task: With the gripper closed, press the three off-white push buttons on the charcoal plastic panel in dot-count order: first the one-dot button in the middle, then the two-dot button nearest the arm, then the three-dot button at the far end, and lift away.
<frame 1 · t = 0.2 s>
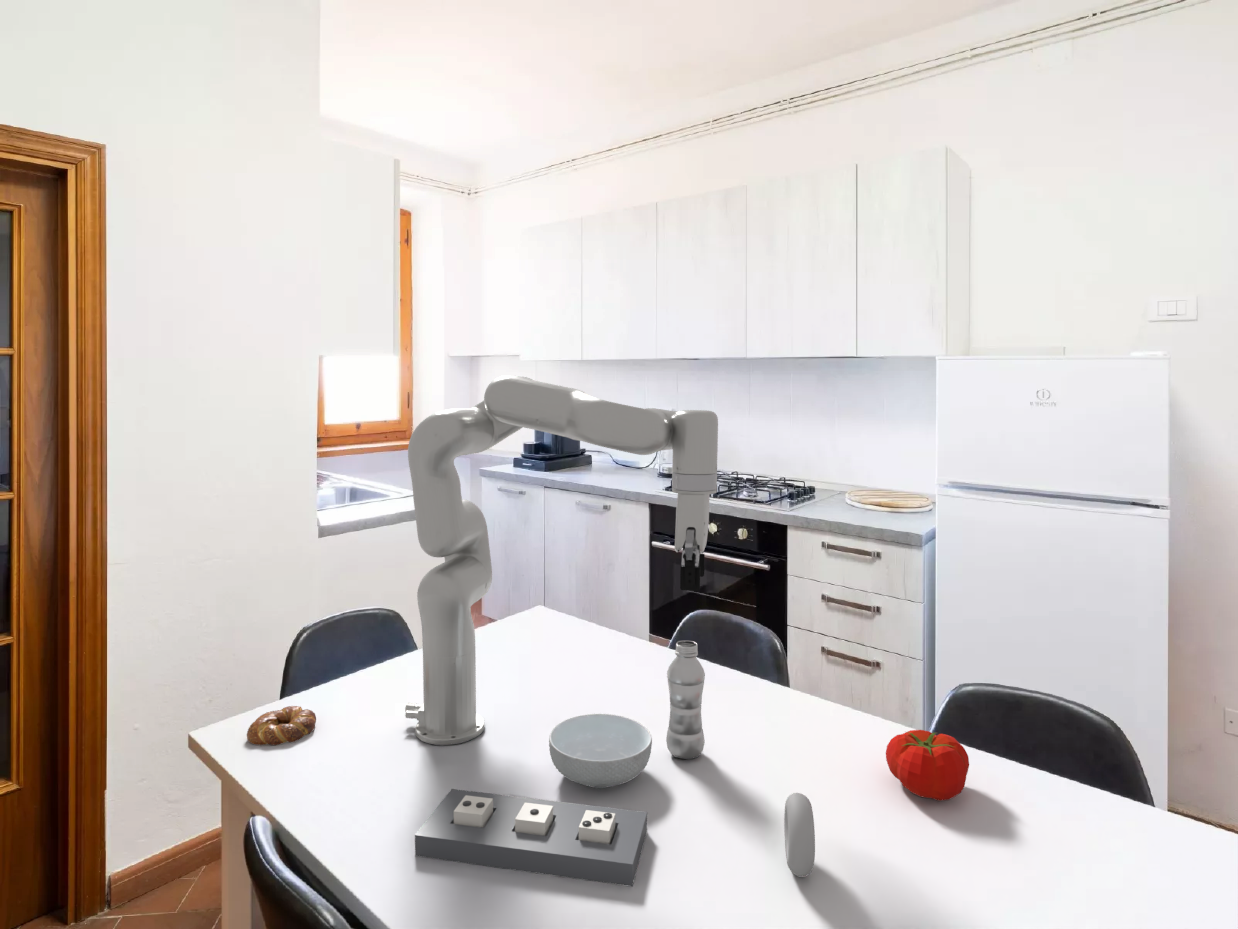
hand: (692, 582, 124), 31 cm above the table, tool pointing down, fingers open, 9 cm apart
cereal bowl: (600, 777, 121), on the table
button two dots: (473, 812, 103), point 3 cm above the table, slide at 0.0 cm
button one dot: (534, 820, 102), point 3 cm above the table, slide at 0.0 cm
button three dots: (597, 827, 100), point 3 cm above the table, slide at 0.0 cm
tomato: (924, 790, 118), on the table
plastic bottle: (684, 755, 128), on the table
button panel: (534, 843, 102), on the table
donut: (797, 870, 97), on the table
pretzel: (282, 735, 135), on the table
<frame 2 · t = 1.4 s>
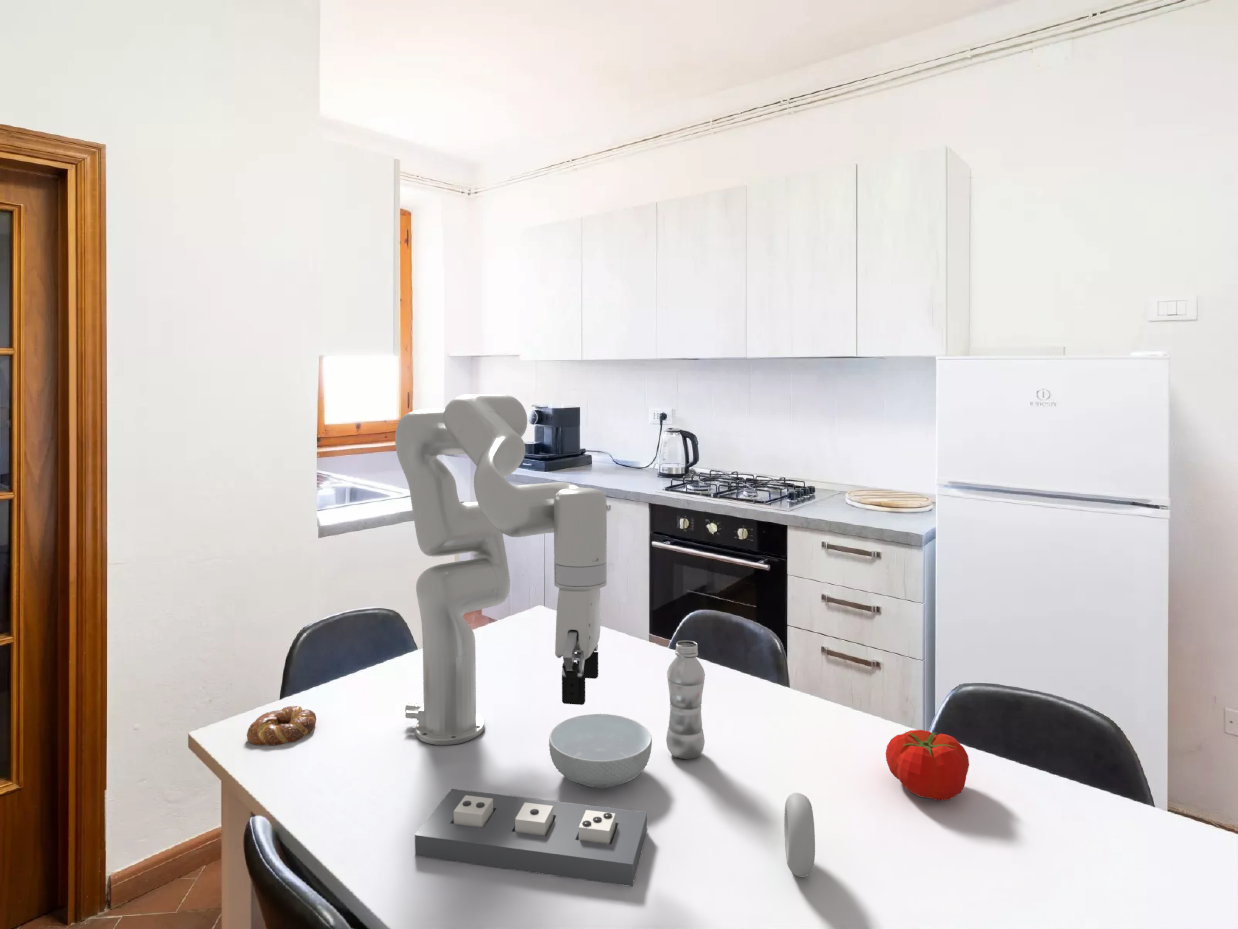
hand: (580, 689, 106), 20 cm above the table, tool pointing down, fingers open, 9 cm apart
nothing on the table moved.
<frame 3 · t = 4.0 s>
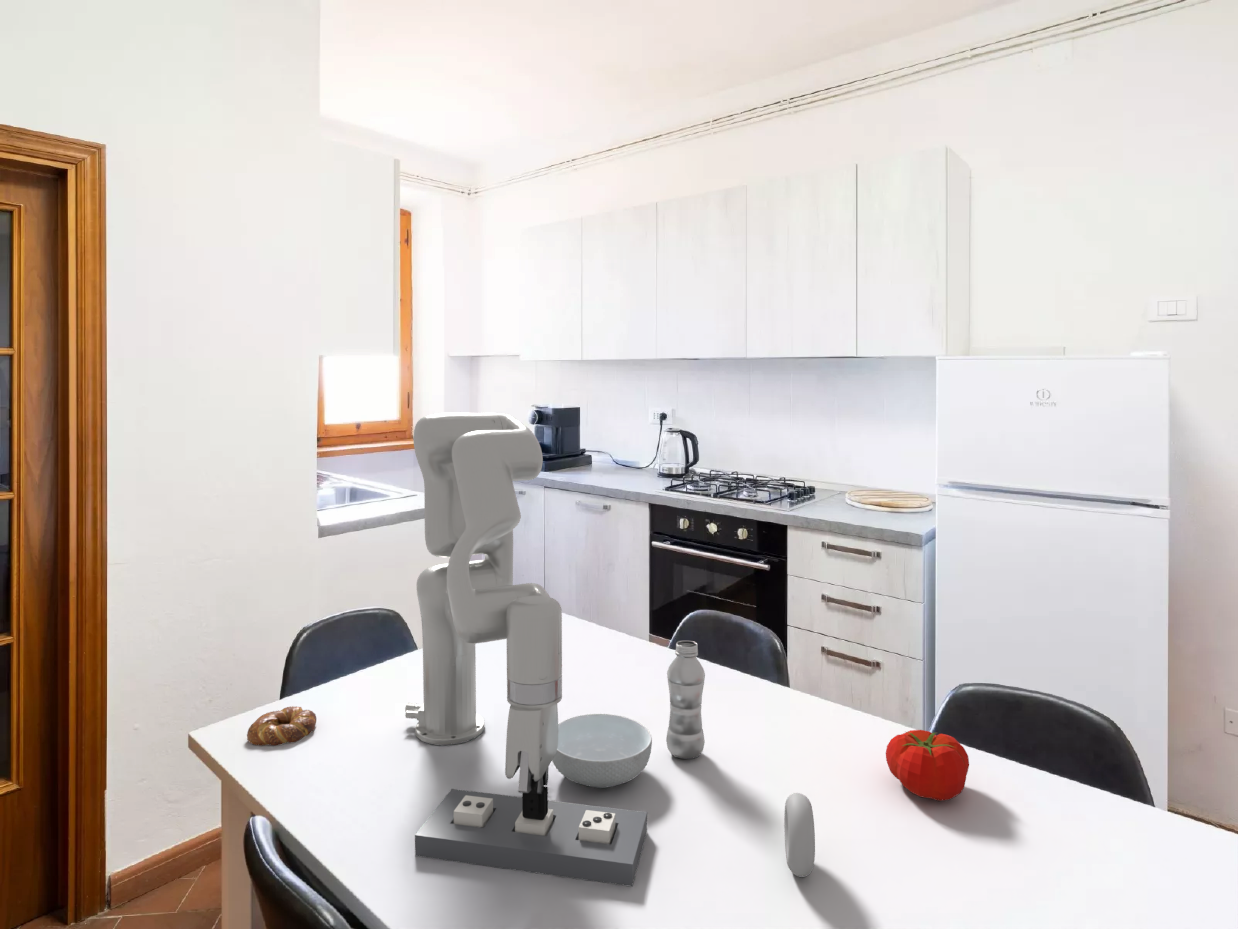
hand: (535, 815, 101), 4 cm above the table, tool pointing down, fingers closed
button one dot: (534, 823, 102), point 3 cm above the table, slide at 0.5 cm, touching gripper
everything else where it was.
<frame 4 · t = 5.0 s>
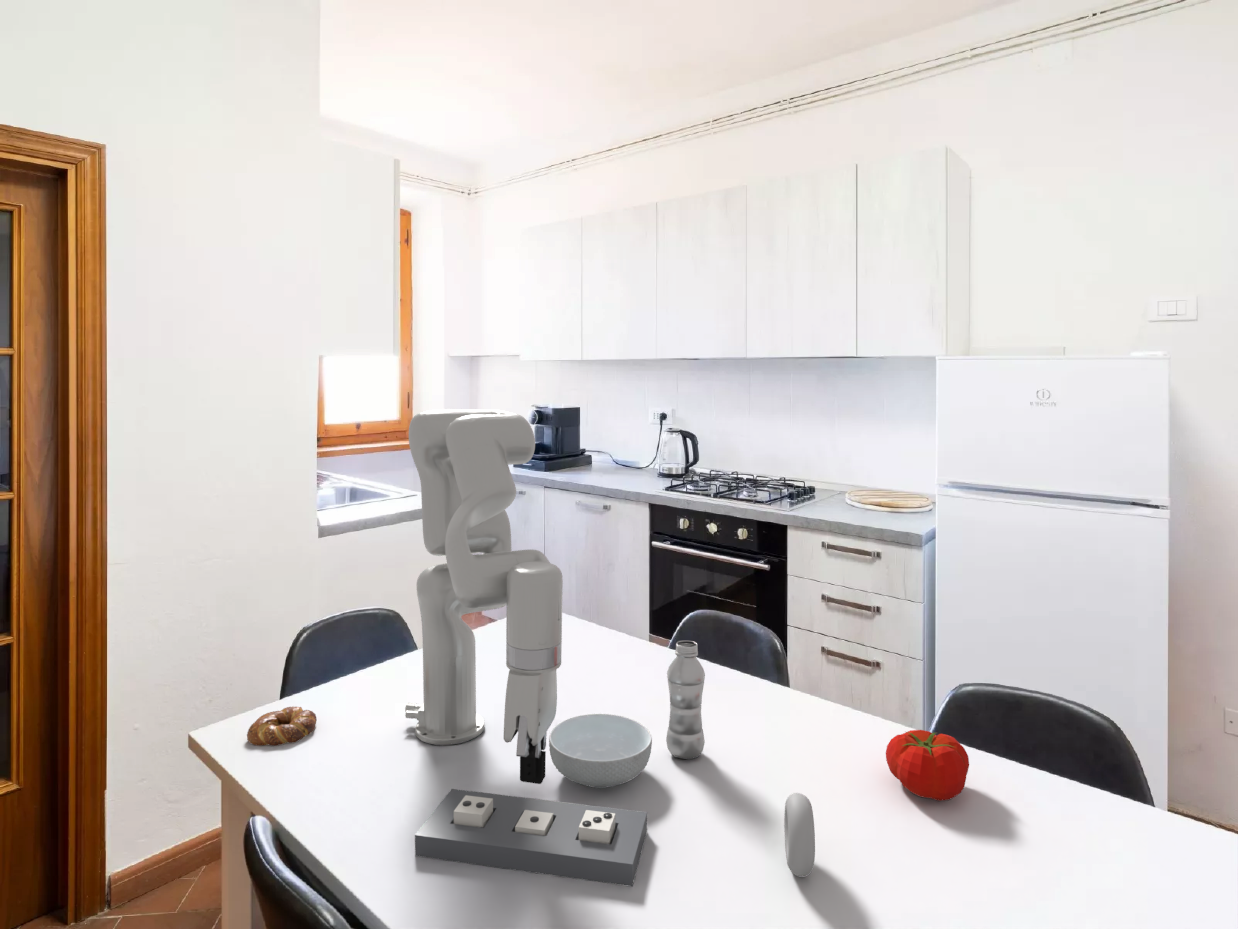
hand: (532, 779, 102), 9 cm above the table, tool pointing down, fingers closed
button one dot: (534, 827, 102), point 2 cm above the table, slide at 1.1 cm
everything else where it was.
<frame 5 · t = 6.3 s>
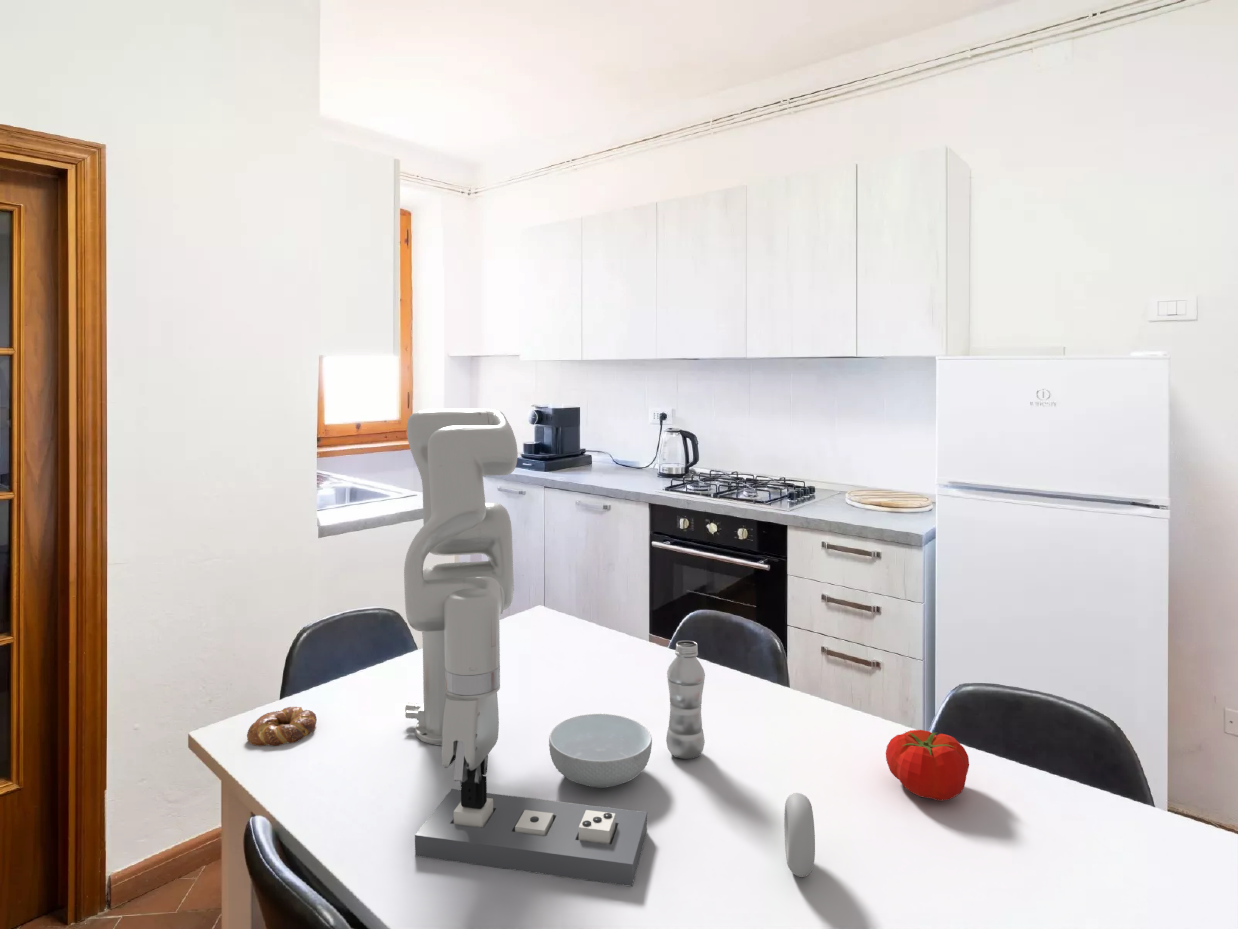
hand: (473, 804, 103), 5 cm above the table, tool pointing down, fingers closed
button two dots: (473, 812, 103), point 3 cm above the table, slide at 0.0 cm, touching gripper
everything else where it was.
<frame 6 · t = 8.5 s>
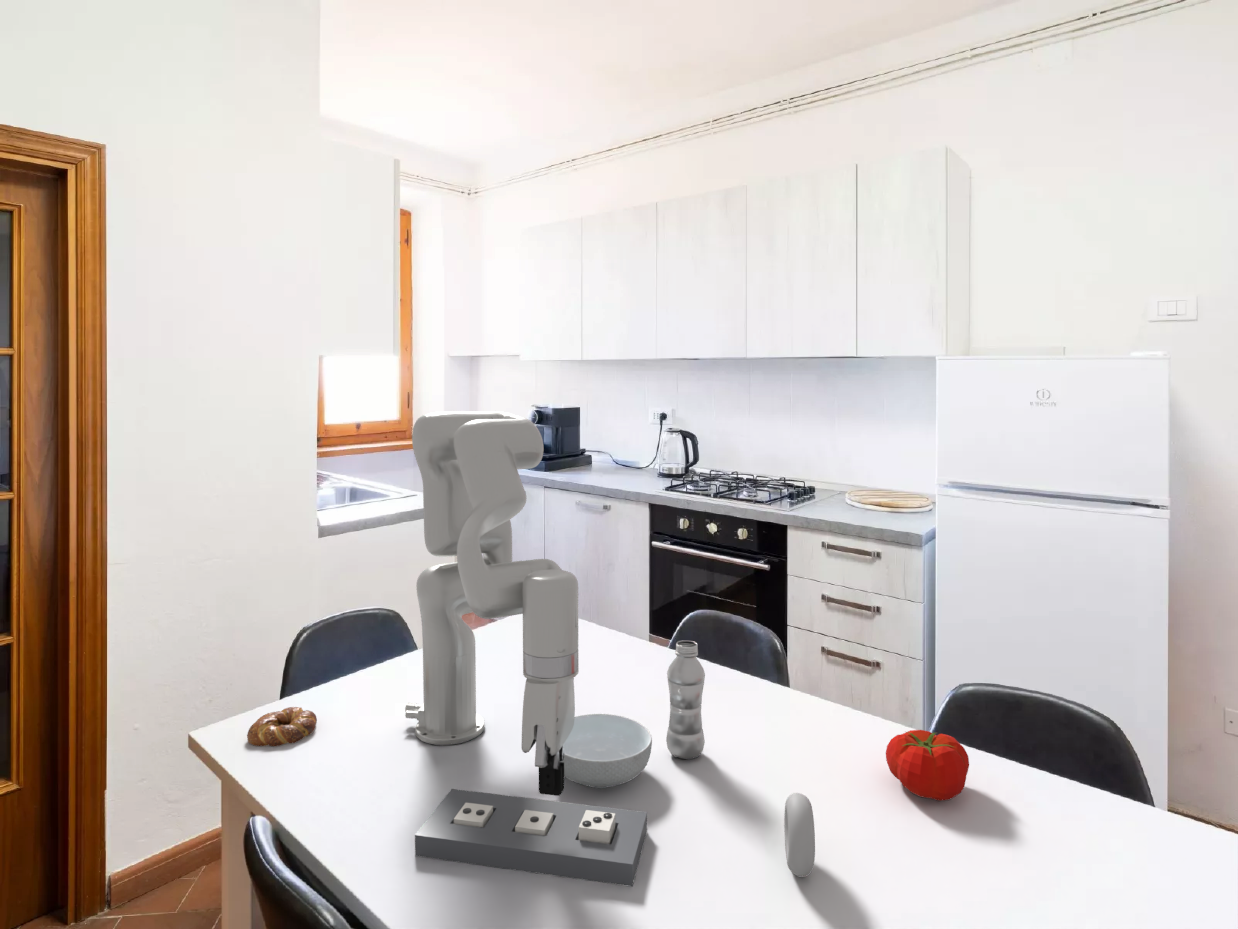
hand: (551, 791, 100), 8 cm above the table, tool pointing down, fingers closed
button two dots: (473, 819, 103), point 2 cm above the table, slide at 1.1 cm
everything else where it was.
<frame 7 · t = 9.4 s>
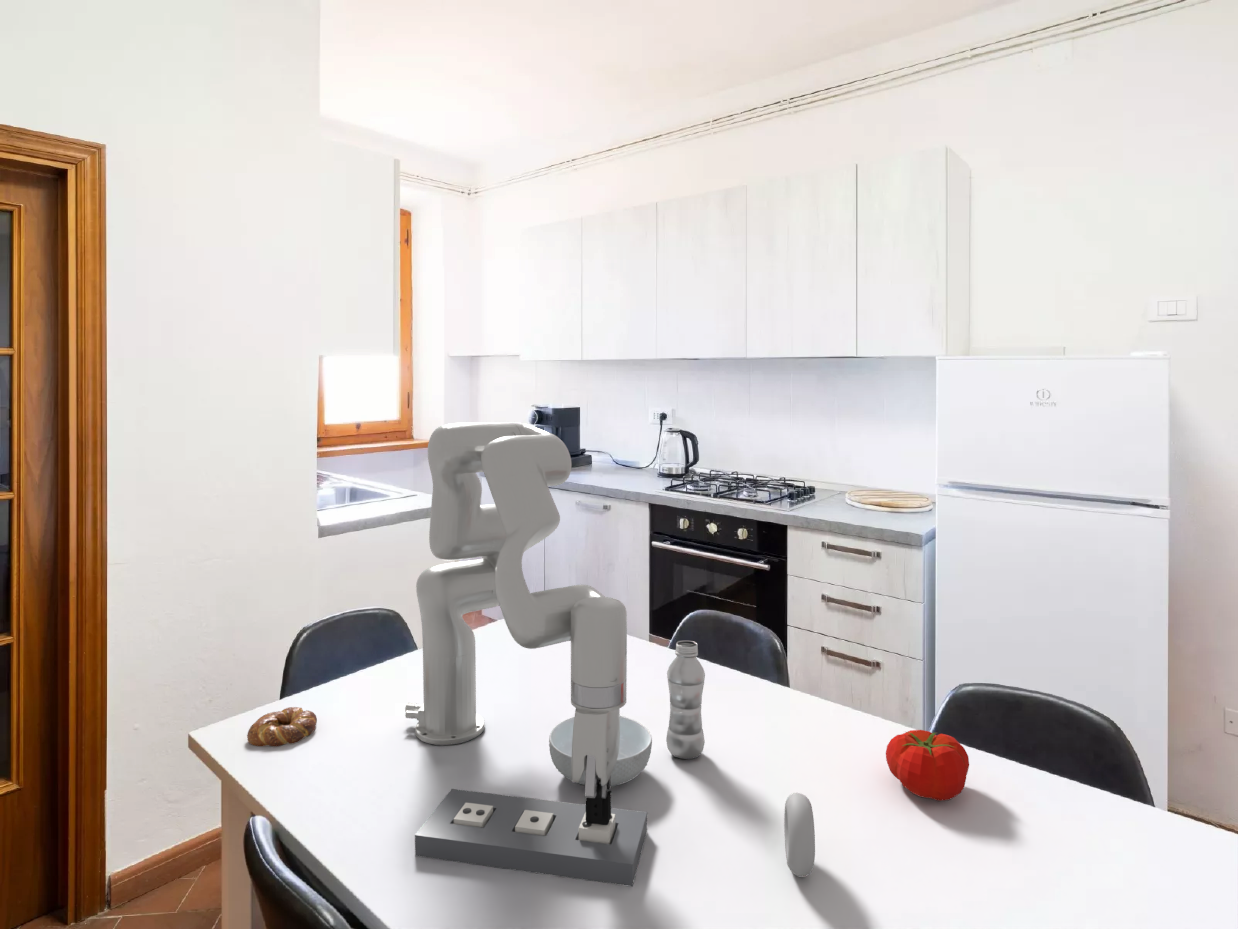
hand: (598, 820, 100), 5 cm above the table, tool pointing down, fingers closed
button three dots: (597, 828, 100), point 3 cm above the table, slide at 0.1 cm, touching gripper
everything else where it was.
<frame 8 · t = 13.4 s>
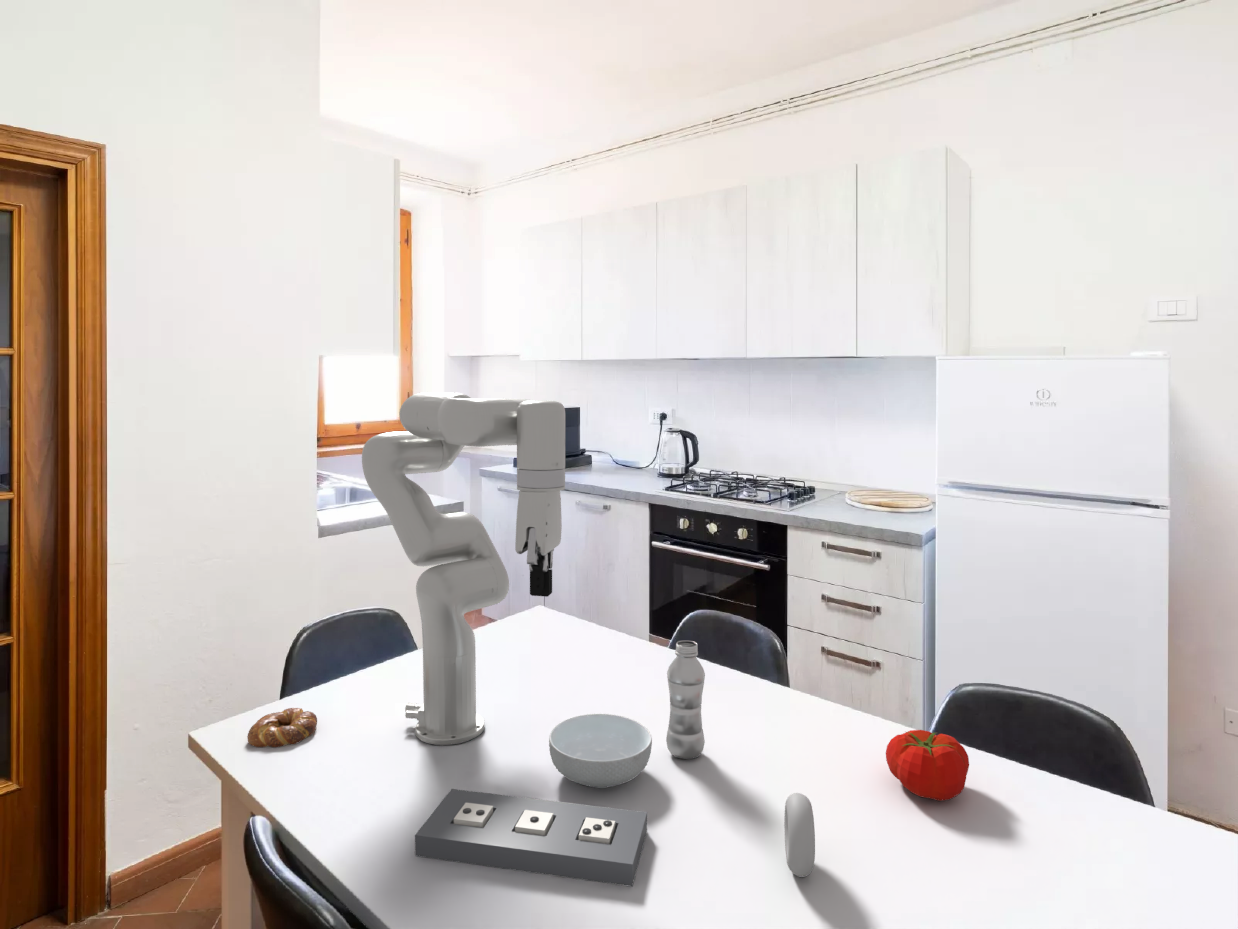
hand: (541, 594, 116), 31 cm above the table, tool pointing down, fingers closed
button three dots: (597, 835, 100), point 2 cm above the table, slide at 1.1 cm
everything else where it was.
at the end: button one dot slide at 1.1 cm; button two dots slide at 1.1 cm; button three dots slide at 1.1 cm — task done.
